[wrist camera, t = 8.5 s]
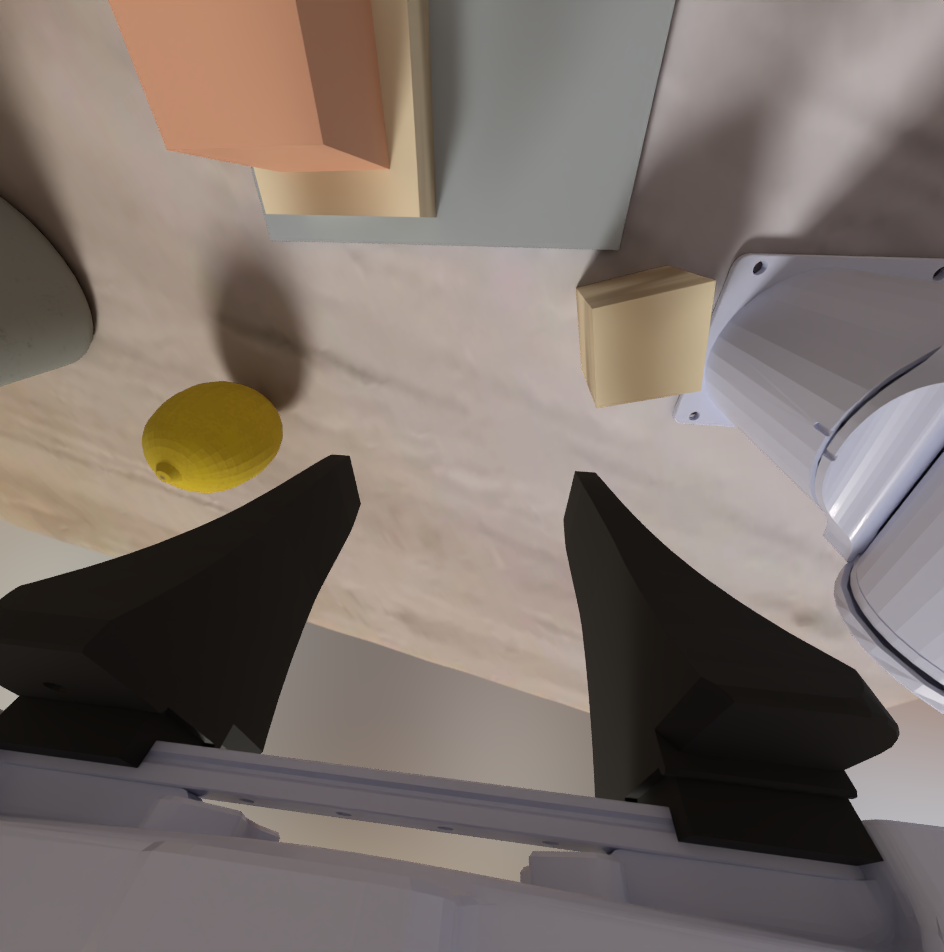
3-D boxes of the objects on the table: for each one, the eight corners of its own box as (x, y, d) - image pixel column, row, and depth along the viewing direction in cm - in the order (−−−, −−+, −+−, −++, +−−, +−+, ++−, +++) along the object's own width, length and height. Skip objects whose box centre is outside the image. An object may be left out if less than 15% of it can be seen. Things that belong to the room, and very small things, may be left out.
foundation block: (428, -8, 11) (403, -68, 9) (436, 217, 15) (419, 217, 13) (258, -2, 12) (192, -57, 10) (305, 214, 16) (265, 214, 13)
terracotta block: (368, -22, 10) (257, -195, 6) (390, 169, 12) (323, 144, 8) (235, -12, 10) (44, -164, 6) (282, 172, 12) (167, 149, 8)
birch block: (667, 265, 16) (716, 280, 12) (661, 352, 18) (701, 390, 14) (575, 287, 17) (592, 308, 13) (581, 368, 19) (596, 408, 15)
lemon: (203, 366, 21) (68, 428, 15) (283, 358, 20) (175, 421, 14) (248, 443, 25) (152, 521, 18) (319, 439, 24) (243, 520, 17)
